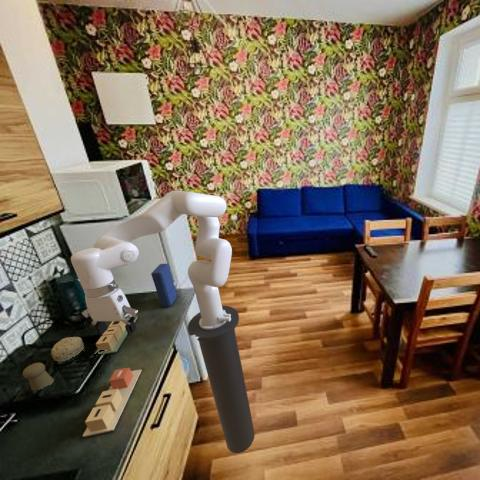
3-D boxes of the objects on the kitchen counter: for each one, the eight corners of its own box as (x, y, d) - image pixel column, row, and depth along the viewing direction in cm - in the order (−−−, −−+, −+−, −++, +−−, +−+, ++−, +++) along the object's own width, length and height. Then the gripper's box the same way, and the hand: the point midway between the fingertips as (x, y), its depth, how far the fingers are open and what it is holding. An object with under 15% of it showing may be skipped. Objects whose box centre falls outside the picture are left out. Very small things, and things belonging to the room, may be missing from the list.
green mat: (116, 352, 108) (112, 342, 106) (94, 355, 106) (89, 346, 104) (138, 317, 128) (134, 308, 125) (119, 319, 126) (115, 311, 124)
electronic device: (168, 296, 143) (158, 263, 135) (178, 295, 143) (169, 263, 135) (160, 307, 134) (149, 273, 126) (171, 306, 134) (161, 272, 126)
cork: (55, 379, 97) (41, 356, 92) (59, 387, 94) (46, 364, 89) (32, 391, 92) (17, 368, 88) (36, 401, 89) (20, 377, 85)
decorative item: (68, 372, 104) (77, 356, 101) (40, 363, 101) (48, 345, 98) (85, 353, 112) (94, 338, 110) (60, 344, 109) (68, 328, 107)
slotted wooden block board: (113, 430, 80) (107, 419, 78) (83, 437, 78) (76, 426, 76) (141, 370, 100) (137, 360, 97) (118, 374, 98) (113, 364, 96)
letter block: (127, 387, 92) (123, 377, 91) (113, 389, 92) (108, 380, 90) (133, 376, 96) (129, 367, 95) (119, 378, 96) (115, 369, 94)
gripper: (136, 281, 84) (150, 324, 90) (83, 281, 84) (101, 324, 91) (119, 295, 77) (136, 340, 84) (61, 295, 77) (82, 340, 84)
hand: (118, 332), depth 87 cm, fingers open, 9 cm apart
